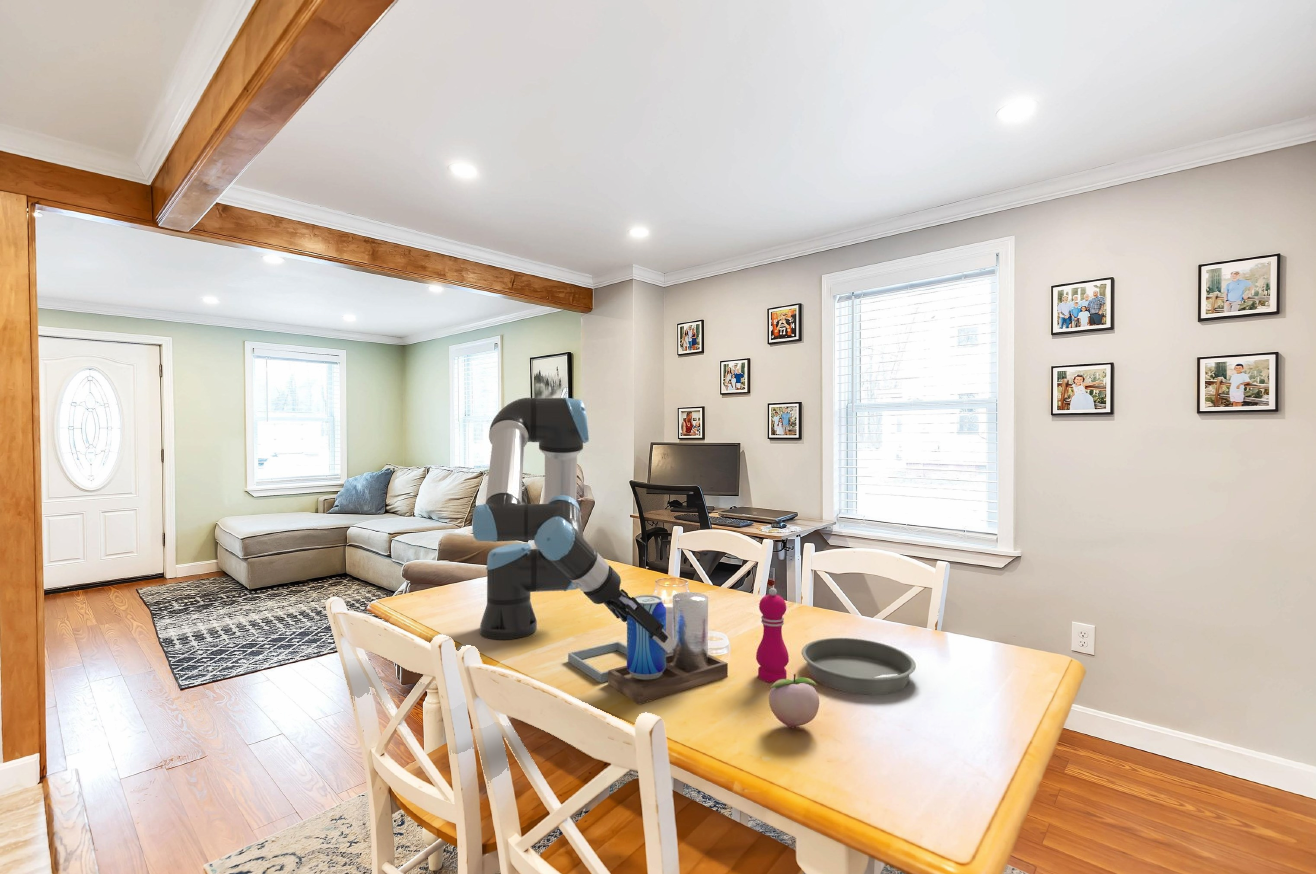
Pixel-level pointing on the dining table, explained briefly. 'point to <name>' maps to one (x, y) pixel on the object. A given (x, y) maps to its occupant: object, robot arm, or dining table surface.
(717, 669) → the wooden divided tray
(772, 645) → the pepper mill
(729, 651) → the dining table surface
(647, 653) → the beer can
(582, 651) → the frame
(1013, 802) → the dining table surface
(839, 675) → the cake pan
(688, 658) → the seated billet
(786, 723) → the decorative fruit
